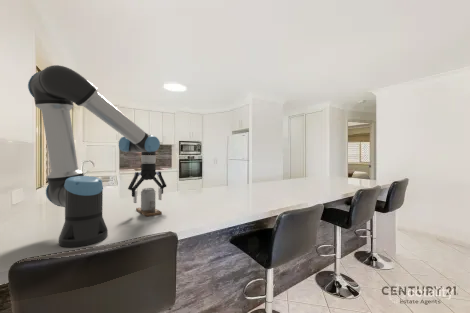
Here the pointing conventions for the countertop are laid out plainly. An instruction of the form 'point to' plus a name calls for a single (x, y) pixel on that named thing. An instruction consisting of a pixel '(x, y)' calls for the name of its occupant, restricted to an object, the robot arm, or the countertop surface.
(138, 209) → the peg cradle
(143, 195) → the can
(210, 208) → the countertop surface
